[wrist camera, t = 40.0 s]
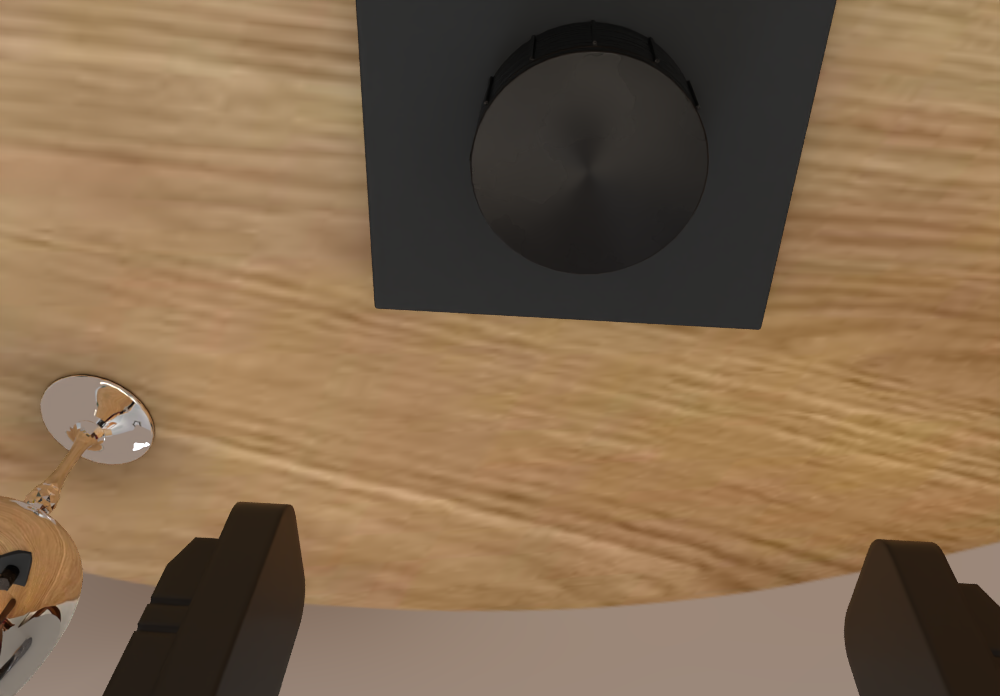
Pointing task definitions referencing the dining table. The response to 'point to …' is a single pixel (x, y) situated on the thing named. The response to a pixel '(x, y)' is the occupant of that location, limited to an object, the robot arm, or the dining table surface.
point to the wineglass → (40, 538)
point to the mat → (452, 124)
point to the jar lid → (588, 149)
